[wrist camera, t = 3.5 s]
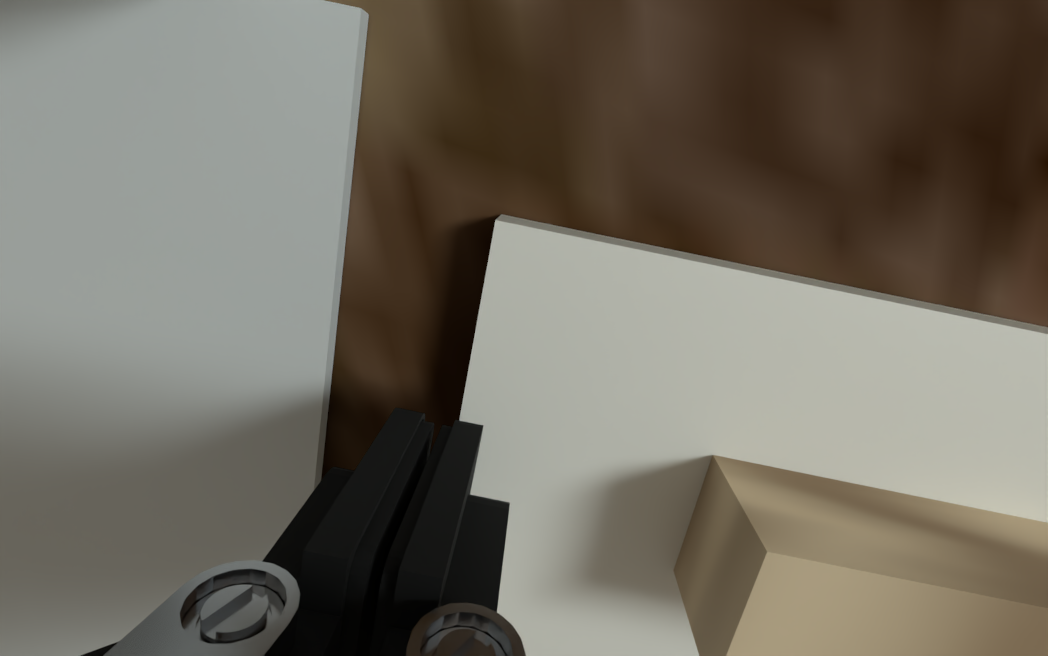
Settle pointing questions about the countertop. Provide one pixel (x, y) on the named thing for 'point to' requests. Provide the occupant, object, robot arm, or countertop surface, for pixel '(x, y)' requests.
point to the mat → (163, 294)
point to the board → (713, 415)
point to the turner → (856, 571)
